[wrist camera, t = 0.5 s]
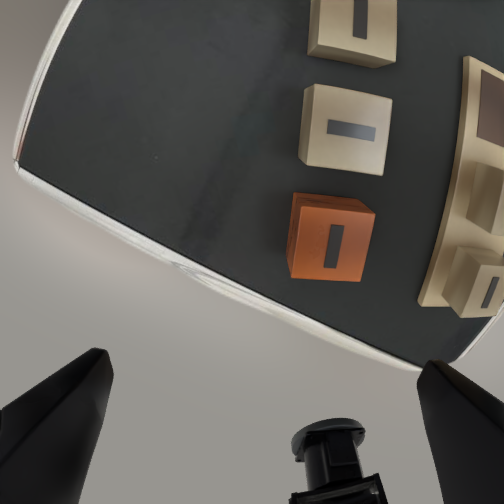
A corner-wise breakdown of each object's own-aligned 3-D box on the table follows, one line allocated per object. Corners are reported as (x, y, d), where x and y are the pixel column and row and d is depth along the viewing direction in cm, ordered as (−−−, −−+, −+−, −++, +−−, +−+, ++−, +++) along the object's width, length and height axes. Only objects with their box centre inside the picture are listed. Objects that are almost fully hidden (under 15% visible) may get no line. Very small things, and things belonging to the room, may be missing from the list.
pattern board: (478, 301, 21) (484, 306, 21) (416, 301, 21) (421, 307, 20) (525, 90, 14) (532, 91, 13) (462, 56, 14) (470, 55, 13)
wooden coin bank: (346, 259, 20) (360, 283, 17) (285, 255, 20) (291, 279, 17) (358, 198, 18) (376, 214, 15) (293, 191, 18) (301, 206, 15)
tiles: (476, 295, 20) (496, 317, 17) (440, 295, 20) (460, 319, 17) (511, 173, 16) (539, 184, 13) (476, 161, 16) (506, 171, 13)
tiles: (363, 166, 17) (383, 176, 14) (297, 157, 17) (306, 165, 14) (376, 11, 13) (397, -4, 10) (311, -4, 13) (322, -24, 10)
